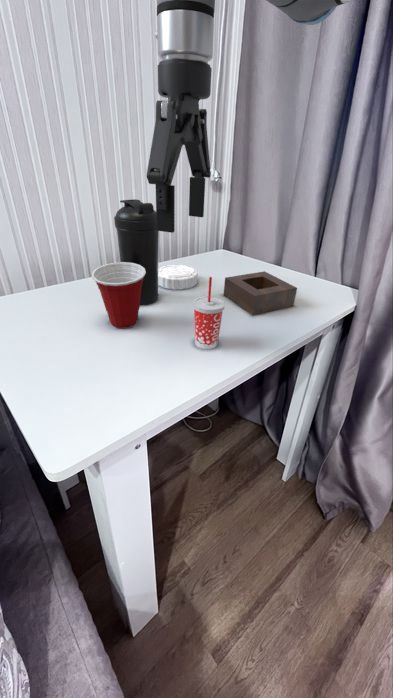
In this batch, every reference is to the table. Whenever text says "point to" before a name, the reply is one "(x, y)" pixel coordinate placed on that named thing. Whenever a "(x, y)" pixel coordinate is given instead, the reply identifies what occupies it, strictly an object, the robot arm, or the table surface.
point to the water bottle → (140, 243)
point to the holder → (259, 292)
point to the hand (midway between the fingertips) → (182, 223)
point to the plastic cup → (120, 291)
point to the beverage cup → (207, 319)
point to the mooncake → (177, 277)
